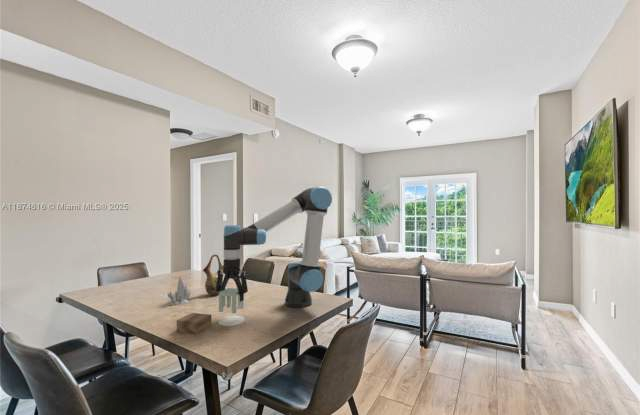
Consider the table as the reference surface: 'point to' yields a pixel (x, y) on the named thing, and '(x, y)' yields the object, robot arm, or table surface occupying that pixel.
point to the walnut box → (194, 323)
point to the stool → (229, 299)
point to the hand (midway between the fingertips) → (231, 307)
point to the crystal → (179, 294)
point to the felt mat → (231, 321)
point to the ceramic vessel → (212, 278)
